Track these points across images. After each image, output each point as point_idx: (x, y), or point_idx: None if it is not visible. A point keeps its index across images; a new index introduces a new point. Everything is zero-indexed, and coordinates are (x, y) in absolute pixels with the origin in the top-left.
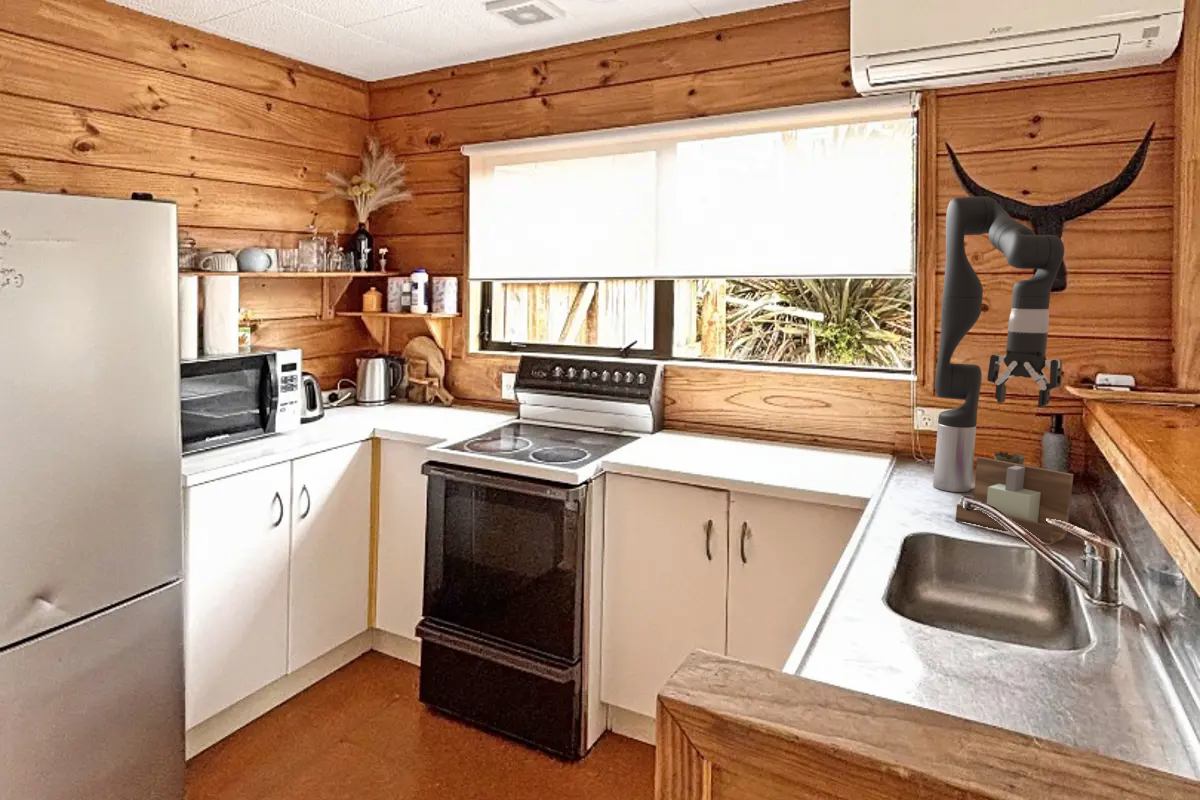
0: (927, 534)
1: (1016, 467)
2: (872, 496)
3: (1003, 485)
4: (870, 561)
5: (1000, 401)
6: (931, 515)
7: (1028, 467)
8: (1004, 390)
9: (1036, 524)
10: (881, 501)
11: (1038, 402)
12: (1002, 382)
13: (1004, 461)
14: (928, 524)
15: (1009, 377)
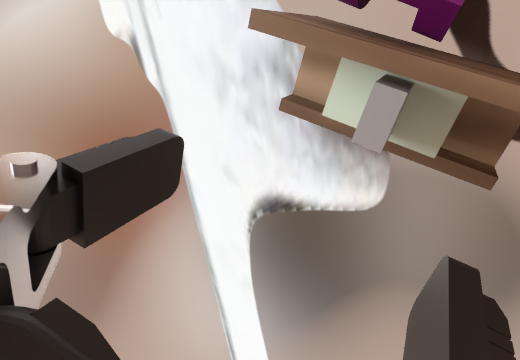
0: (271, 208)
1: (378, 114)
2: (132, 18)
3: (357, 69)
4: (245, 338)
5: (172, 194)
6: (247, 86)
7: (420, 81)
8: (119, 182)
9: (456, 177)
10: (155, 45)
11: (407, 338)
12: (53, 256)
13: (332, 32)
14: (258, 150)
15: (25, 260)
